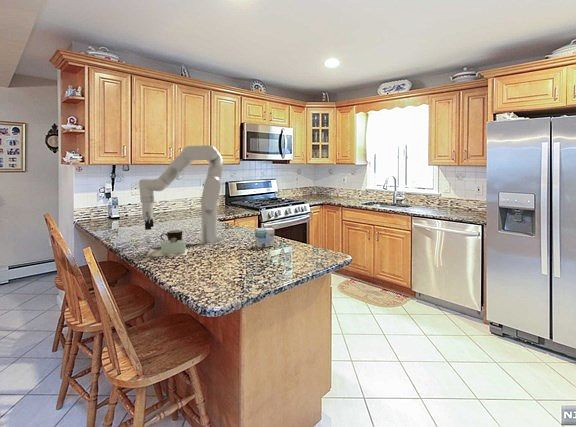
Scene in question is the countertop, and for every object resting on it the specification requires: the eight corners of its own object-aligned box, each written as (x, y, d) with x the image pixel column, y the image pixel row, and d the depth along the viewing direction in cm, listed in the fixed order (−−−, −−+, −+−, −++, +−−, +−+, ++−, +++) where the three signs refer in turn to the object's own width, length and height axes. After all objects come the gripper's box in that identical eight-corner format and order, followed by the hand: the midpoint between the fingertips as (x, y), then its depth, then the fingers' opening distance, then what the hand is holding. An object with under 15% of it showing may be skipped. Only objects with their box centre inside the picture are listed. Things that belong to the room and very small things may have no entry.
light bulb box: (257, 247, 214) (257, 230, 212) (254, 245, 220) (254, 228, 218) (274, 246, 218) (274, 229, 216) (271, 244, 224) (271, 227, 222)
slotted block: (185, 250, 197) (185, 239, 196) (184, 253, 191) (184, 242, 190) (162, 251, 194) (162, 240, 193) (161, 254, 188) (161, 242, 188)
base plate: (187, 251, 201) (187, 248, 201) (186, 257, 188) (186, 254, 187) (150, 252, 197) (150, 250, 197) (146, 259, 183) (146, 256, 183)
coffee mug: (185, 247, 212) (185, 230, 211) (176, 250, 204) (176, 233, 203) (169, 245, 216) (169, 229, 214) (160, 248, 208) (159, 231, 206)
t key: (140, 245, 215) (139, 235, 215) (157, 245, 217) (157, 235, 217) (139, 246, 213) (139, 236, 212) (157, 245, 215) (156, 235, 214)
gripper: (143, 198, 219) (145, 226, 222) (137, 201, 203) (140, 231, 205) (155, 198, 221) (158, 225, 223) (151, 201, 204) (154, 230, 206)
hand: (149, 228), depth 214 cm, fingers open, 9 cm apart
